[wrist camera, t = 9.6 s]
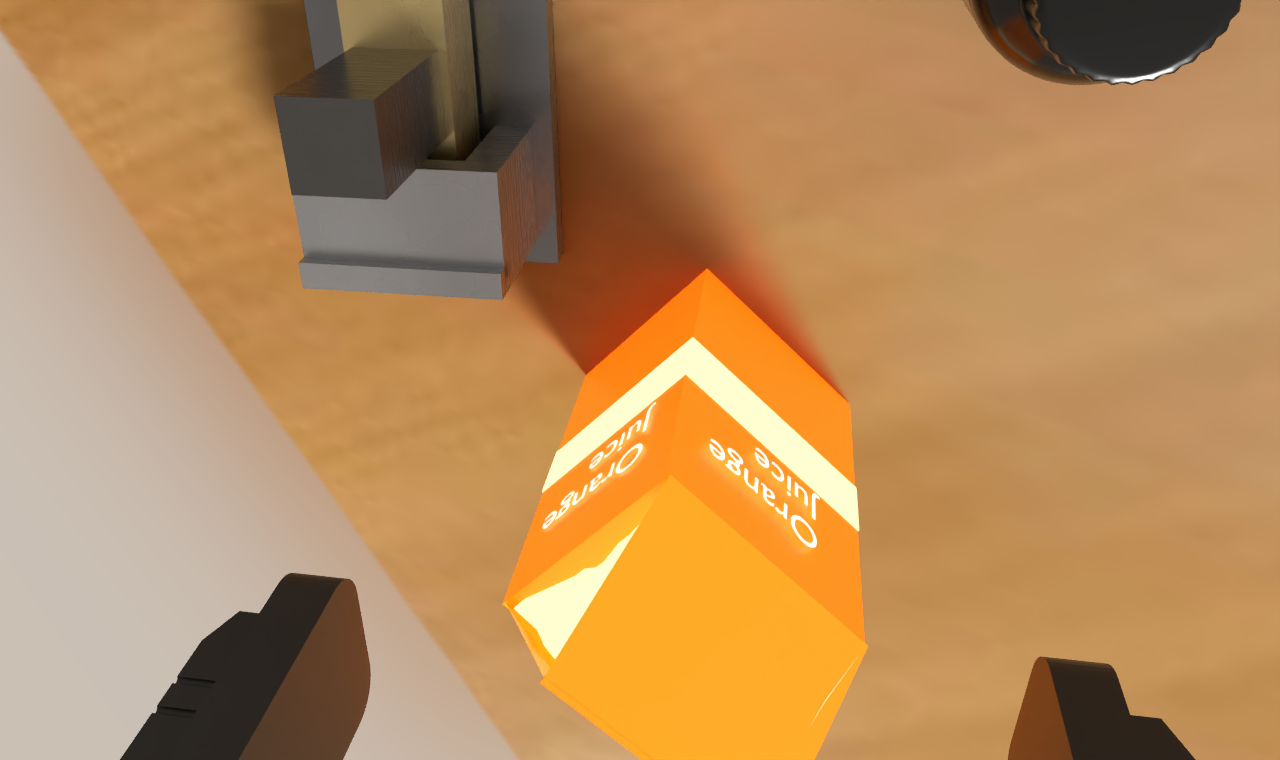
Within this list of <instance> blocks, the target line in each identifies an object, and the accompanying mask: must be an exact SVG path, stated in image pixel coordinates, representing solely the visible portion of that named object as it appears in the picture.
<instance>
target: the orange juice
mask: <svg viewBox="0 0 1280 760" xmlns="http://www.w3.org/2000/svg"><path fill="white" fill-rule="evenodd" d="M542 492H543V494H542V497H541V500H540V503H539V505H538V508H537V511H536V514H535V516H534V519H533V522H532V525H531V527H530V530H529V533H528V535H527V538H526V541H525V544H524V546H523V549H522V552H521V555H520V557H519V560H518V563H517V566H516V568H515V571H514V574H513V577H512V579H511V582H510V585H509V588H508V590H507V593H506V596H505V599H504V601H503V605H504V606H505V607H507V608H508V609H509V610H510V611H511V613H512V615H513V617H514V619H515V621H516V623H517V625H518V627H519V629H520V631H521V633H522V635H523V637H524V639H525V641H526V643H527V645H528V647H529V649H530V651H531V653H532V655H533V657H534V659H535V660H536V662H537V664H538V666H539V668H540V670H541V672H542V674H543V676H544V678H543V680H542V681H541V684H542V685H543V686H545V687H546V688H547V689H549V690H550V691H551V692H553V693H554V694H555V695H557V696H558V697H559V698H561V699H562V700H563V701H565V702H566V703H567V704H568V705H570V706H571V707H572V708H574V709H575V710H576V711H578V712H579V713H580V714H582V715H583V716H584V717H586V718H587V719H588V720H590V721H591V722H592V723H594V724H595V725H596V726H598V727H599V728H600V729H602V730H603V731H604V732H605V733H607V734H608V735H609V736H611V737H612V738H613V739H615V740H616V741H617V742H619V743H620V744H621V745H623V746H624V747H625V748H627V749H628V750H629V751H631V752H632V753H633V754H635V755H636V756H637V757H638V758H640V759H641V760H814V759H815V757H816V755H817V753H818V751H819V749H820V747H821V745H822V742H823V740H824V738H825V736H826V734H827V732H828V730H829V728H830V725H831V723H832V721H833V719H834V717H835V715H836V713H837V711H838V709H839V706H840V704H841V702H842V700H843V698H844V696H845V694H846V692H847V689H848V687H849V685H850V683H851V681H852V679H853V677H854V675H855V673H856V670H857V668H858V666H859V664H860V662H861V660H862V658H863V656H864V653H865V651H866V649H867V647H868V645H866V644H865V641H864V625H863V609H862V593H861V577H860V561H859V545H858V531H859V520H858V505H857V489H856V487H855V481H854V465H853V449H852V433H851V417H850V404H849V403H848V402H847V401H846V400H845V399H844V398H843V397H842V396H840V395H839V394H838V393H837V392H836V391H835V390H834V389H833V388H832V387H831V386H830V385H829V384H828V383H827V382H826V381H825V380H824V379H823V378H822V377H821V376H819V375H818V374H817V373H816V372H815V371H814V370H813V369H812V368H811V367H810V366H809V365H808V364H807V363H806V362H805V361H804V360H803V359H802V358H801V357H800V356H798V355H797V354H796V353H795V352H794V351H793V350H792V349H791V348H790V347H789V346H788V345H787V344H786V343H785V342H784V341H783V340H782V339H781V338H780V337H779V336H778V335H776V334H775V333H774V332H773V331H772V330H771V329H770V328H769V327H768V326H767V325H766V324H765V323H764V322H763V321H762V320H761V319H760V318H759V317H758V316H757V315H755V314H754V313H753V312H752V311H751V310H750V309H749V308H748V307H747V306H746V305H745V304H744V303H743V302H742V301H741V300H740V299H739V298H738V297H737V296H736V295H734V294H733V293H732V292H731V291H730V290H729V289H728V288H727V287H726V286H725V285H724V284H723V283H722V282H721V281H720V280H719V279H718V278H717V277H716V276H715V275H713V274H712V273H711V272H710V271H709V270H708V269H706V270H705V271H704V272H702V273H701V274H700V275H699V276H698V277H697V278H696V279H694V280H693V281H692V282H691V283H690V284H689V285H688V286H687V287H685V288H684V289H683V290H682V291H681V292H680V293H679V294H677V295H676V296H675V297H674V298H673V299H672V300H671V301H670V302H668V303H667V304H666V305H665V306H664V307H663V308H662V309H660V310H659V311H658V312H657V313H656V314H655V315H654V316H652V317H651V318H650V319H649V320H648V321H647V322H646V323H645V324H643V325H642V326H641V327H640V328H639V329H638V330H637V331H635V332H634V333H633V334H632V335H631V336H630V337H629V338H628V339H626V340H625V341H624V342H623V343H622V344H621V345H620V346H618V347H617V348H616V349H615V350H614V351H613V352H612V353H610V354H609V355H608V356H607V357H606V358H605V359H604V360H603V361H601V362H600V363H599V364H598V365H597V366H596V367H595V368H593V369H592V370H591V371H590V372H589V373H588V374H587V375H586V377H585V379H584V382H583V385H582V387H581V390H580V393H579V396H578V398H577V401H576V404H575V407H574V409H573V412H572V415H571V418H570V420H569V423H568V426H567V429H566V431H565V434H564V437H563V440H562V442H561V445H560V448H559V450H558V451H557V452H556V455H555V457H554V460H553V463H552V466H551V468H550V471H549V474H548V476H547V479H546V482H545V485H544V487H543V490H542Z"/></svg>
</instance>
